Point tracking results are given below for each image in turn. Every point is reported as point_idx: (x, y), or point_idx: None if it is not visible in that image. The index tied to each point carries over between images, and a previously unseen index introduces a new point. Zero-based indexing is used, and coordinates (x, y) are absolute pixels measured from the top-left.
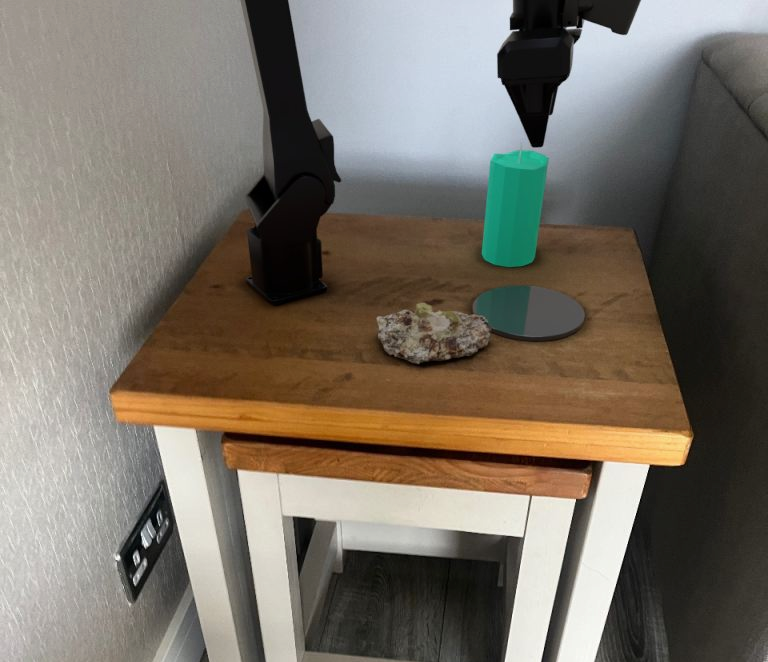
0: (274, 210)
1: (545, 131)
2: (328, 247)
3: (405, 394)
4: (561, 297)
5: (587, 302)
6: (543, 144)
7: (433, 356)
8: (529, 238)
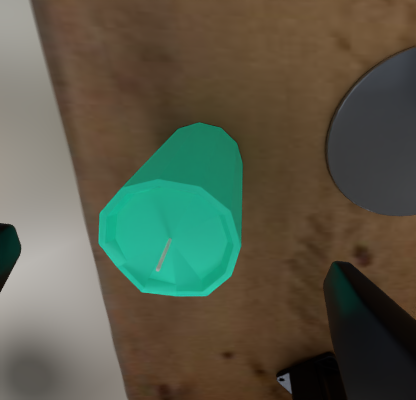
0: None
1: (396, 303)
2: (211, 353)
3: None
4: (378, 83)
5: (377, 31)
6: (350, 264)
7: None
8: (229, 149)
